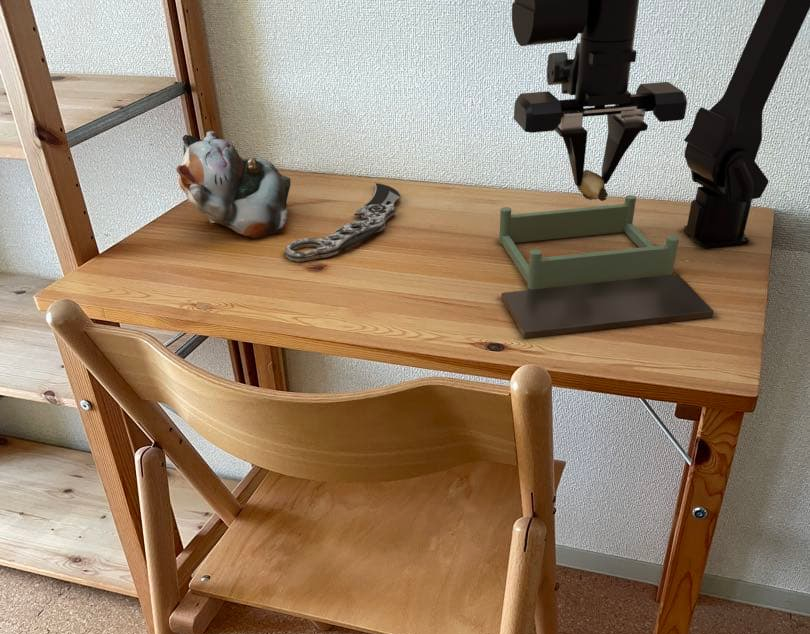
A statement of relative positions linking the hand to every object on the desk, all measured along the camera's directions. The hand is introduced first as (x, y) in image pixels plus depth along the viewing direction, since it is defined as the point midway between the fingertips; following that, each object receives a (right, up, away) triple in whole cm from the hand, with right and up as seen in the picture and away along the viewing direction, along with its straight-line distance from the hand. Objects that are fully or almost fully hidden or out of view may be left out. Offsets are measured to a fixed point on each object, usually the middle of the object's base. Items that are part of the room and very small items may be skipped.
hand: (590, 184), depth 102 cm
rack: (0, -7, +7) cm, 9 cm away
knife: (-29, +1, +18) cm, 34 cm away
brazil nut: (0, -1, +1) cm, 1 cm away
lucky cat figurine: (-46, +2, +19) cm, 49 cm away
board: (+1, -16, -4) cm, 16 cm away
